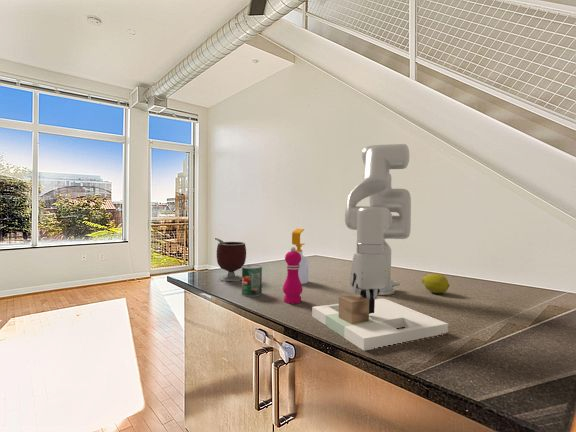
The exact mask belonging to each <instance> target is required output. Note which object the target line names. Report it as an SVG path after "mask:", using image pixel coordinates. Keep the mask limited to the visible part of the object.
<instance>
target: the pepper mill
mask: <svg viewBox="0 0 576 432" xmlns="http://www.w3.org/2000/svg"><path fill="white" fill-rule="evenodd" d="M295 250H297V248H296V246H292V247H291V248H290V251H288V252H287V253H286V254H285V256H284V261H285V262H286V264H285V265H286V267H285V268H286V270H287V273H286V274H287V276H286V279H285V281H284V283H283V285H282V291H283V293H284V296H283V301H284V302H285V303H287V304H293V305H294V304H300V303H301V302H302V296H301V294H302V292H303V284H301V282H300V279H299V276H298V270H299V269H300V265H299V263H300V261H301V255H300V253H298V252H296V251H295Z"/></svg>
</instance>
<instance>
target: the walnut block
mask: <svg viewBox="0 0 576 432" xmlns="http://www.w3.org/2000/svg"><path fill="white" fill-rule="evenodd" d="M338 304H339V318H340V319H342V320H344V321H346V322H348V323H350V324H356V323H361V322H367V321H369V299H366V298H363V297H361V295H359V294H351V295H349V294H348V295H342V296H338Z"/></svg>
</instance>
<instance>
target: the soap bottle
mask: <svg viewBox="0 0 576 432" xmlns="http://www.w3.org/2000/svg"><path fill="white" fill-rule="evenodd" d="M304 231H305V228H296V229H294V230H293V231H292V233H291V243H292V245H295V248H296V250H295V251H296V252H298V253H300V255H301V261H300V263H299V265H300V269H299V270H298V276H299V279H300V282H301V284H302V285H306V284H308V283H309V262H310V261H309V259H308V258H307V257H306V256H304V255H303V249H301V248H302V247H303V246H304V245H305V243H301V233H303V232H304Z"/></svg>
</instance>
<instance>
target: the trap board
mask: <svg viewBox="0 0 576 432" xmlns="http://www.w3.org/2000/svg"><path fill="white" fill-rule="evenodd" d="M311 317H312V318H314V319H316V320H317V321H319V322H320V323H322V324H323V325H325V326H326V327H327V328H329V329H330V330H332V331H333V332H335V333H336V334H338V335H340V336H341V337H343V338H344V339H345V340H347V342H348V341H349V342H350V343H351V344H353V345H354V346H356V347H357V348H359V349H361V350H362V351H370V350H375V349H379V348H378V347H381V348H384V347H383V346H386V347H389V346H388V345H391V346H394V345H393V344H396V345H398V344H397V343H401V344H403V343H402V342H406V341H410V340H415V339H419V338H424V337H429V336H434V335H438V334H441V333H446V332H448V333H449V323H447V322H445V321H443V320H440V319H437V318H435V317H431V316H429V315H427V314H424V313H422V312H419V311H417V310H415V309H413V308H412V309H411V308H409V307H407V306H405V305H401V304H399V303H397V302H395V301H392V300H388V299H386V298H385V297H383V298H376V299H375V308H374V313H371V314H369V321H367V322H361V323H356V324H350V323H348V322H346V321H344V320H342V319H340V318H339V303H332V304H324V305H316V306H311ZM399 327H405V328H399ZM396 328H399V329H396ZM406 343H407V342H406ZM374 348H375V349H374Z"/></svg>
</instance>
